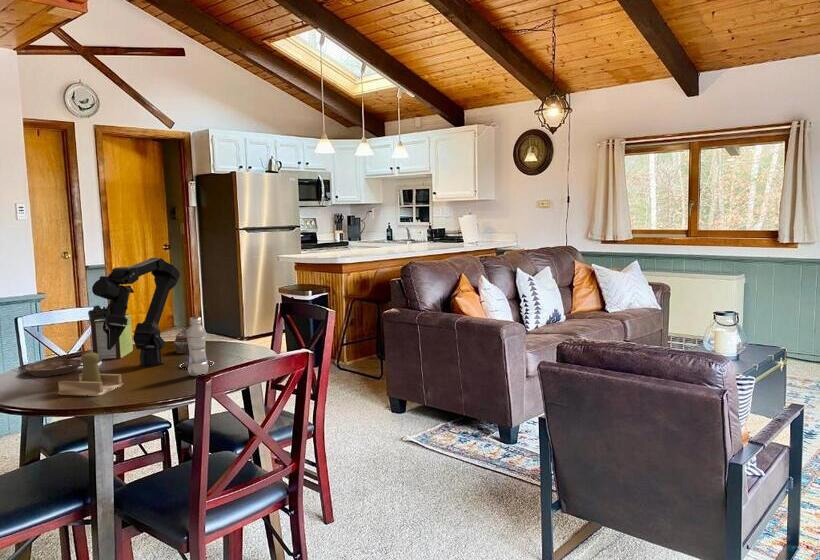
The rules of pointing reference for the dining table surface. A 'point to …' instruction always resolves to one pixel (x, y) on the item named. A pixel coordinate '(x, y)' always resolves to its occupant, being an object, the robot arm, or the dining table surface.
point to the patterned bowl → (188, 361)
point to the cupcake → (182, 341)
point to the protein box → (120, 347)
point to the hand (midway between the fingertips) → (110, 348)
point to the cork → (90, 367)
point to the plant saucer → (41, 370)
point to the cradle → (90, 385)
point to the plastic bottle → (196, 347)
